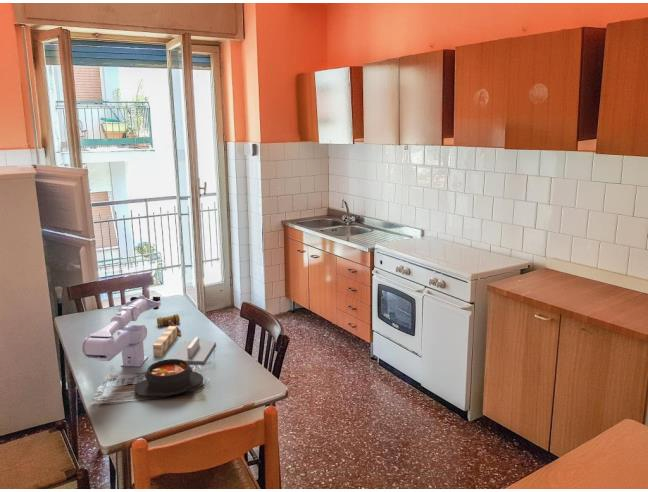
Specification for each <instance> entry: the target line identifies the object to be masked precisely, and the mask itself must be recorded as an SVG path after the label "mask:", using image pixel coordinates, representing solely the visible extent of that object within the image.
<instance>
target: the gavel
mask: <svg viewBox="0 0 648 492" xmlns="http://www.w3.org/2000/svg"><path fill="white" fill-rule="evenodd" d="M180 321H181V320H180V315H179V314H177V313H176V314H173V315H168V316H165V317H162V316H160V317H157V319H156V323H157V326H158V327H164V326H168V327H169V326H177V325H176V323H177V324H180ZM181 332H182V331H181V330H180V328H179V327H178V326H177V336H179V337H181V336H182V333H181Z"/></svg>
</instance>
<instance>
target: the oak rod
mask: <svg viewBox="0 0 648 492" xmlns="http://www.w3.org/2000/svg"><path fill="white" fill-rule="evenodd" d="M177 327H178V326H177V325H176V326H169V325H168V326H167V328H166V329H165V331H163V332H162V334H161V335H160V336H159V337H158V339H157V340H156V341H155V342H154V343H153V345H152V352H153V353H152V354H153V356H155V357H158V356H160V357H161V356H163V355H164V354H165V352H166V351H167V349H168V348H170V346H171V344H172V343H173V342H174V341H175V339H176V338H177V337H178V335H177Z"/></svg>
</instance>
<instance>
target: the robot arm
mask: <svg viewBox="0 0 648 492" xmlns="http://www.w3.org/2000/svg"><path fill="white" fill-rule="evenodd" d="M161 304H162V303H161V296H152V299H150V298H147V297H145V295H144V294H140V295H139V297H138V296H131V297H130V300H129V301H128V300H127V301H126V302H125V306H119V308H118V309H117V312H116V314H115V315H114V316H113V317H112V318H111V319H110V323H109V324H107V325H105V326H104V327H102V328H101V329H100V330H97V331H95V332H91V333H90V334H89V337H88V336H87V337H85V338H84V339H83V341H82V343H81V352H82V354H83V355H84V357H85V358H87V359H88V358H89V359H93V360H97V361H100V362H110V361H112V360H113V359H114V358H115V357H116V356H118V355H119V354H120V353H121V355H122V357H121V358H122V363H121V364H120V366H121V367H141V366H142V364H144V362H146V360H147V359H148V358H149V356H148V355H145V349H144V341H145V340H146V339H147V336H148V328H147V326H146V325H143V324H142V325H138V324H137V325H132V324H130V322H136V321H137V320H138V318H139V316H141V314H143V313H144V312H146V311H149V310H152V309H153V310H157V311H158V310H159V309H160V307H161ZM116 332H117V336H116V337H115V338H114V335H115V334H116Z"/></svg>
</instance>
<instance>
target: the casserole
mask: <svg viewBox="0 0 648 492" xmlns="http://www.w3.org/2000/svg"><path fill="white" fill-rule="evenodd" d="M144 378H145V379H144V380H141V381H138V382H137V383H136V384H135V385H134V388H133V389H134V393H136V394H137V395H139V396H141V397H152V396H158V397H159V396H160V397H162V396H163V397H164V396H165V397H166V396H171V395H177V394H180V393H183V392H186V391H188V390H189V389H191V388H194V387H197V386H199V385H201V384H202V383H203V382H204V377H203V375H202V374H201V373H199V372H196V371H193V368H192V366H190V364H189V363H187V362H186V361H184V360H180V359H171V358H169V359H163V360H162V359H161V360H158V361H156V362H153V363H152V364H151V365H149V366H148V367H147V370H146V372H145V373H144Z"/></svg>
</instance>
